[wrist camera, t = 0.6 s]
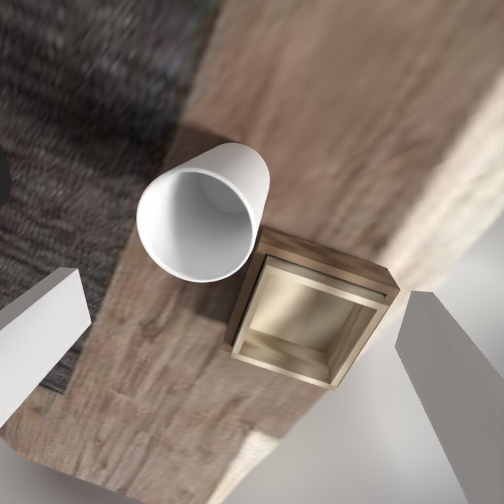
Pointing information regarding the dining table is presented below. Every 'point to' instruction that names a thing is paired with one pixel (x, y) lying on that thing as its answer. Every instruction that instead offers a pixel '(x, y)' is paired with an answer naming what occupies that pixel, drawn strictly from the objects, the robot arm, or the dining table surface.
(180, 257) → the cup
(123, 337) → the dining table surface
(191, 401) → the dining table surface
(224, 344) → the box
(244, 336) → the birch crate
